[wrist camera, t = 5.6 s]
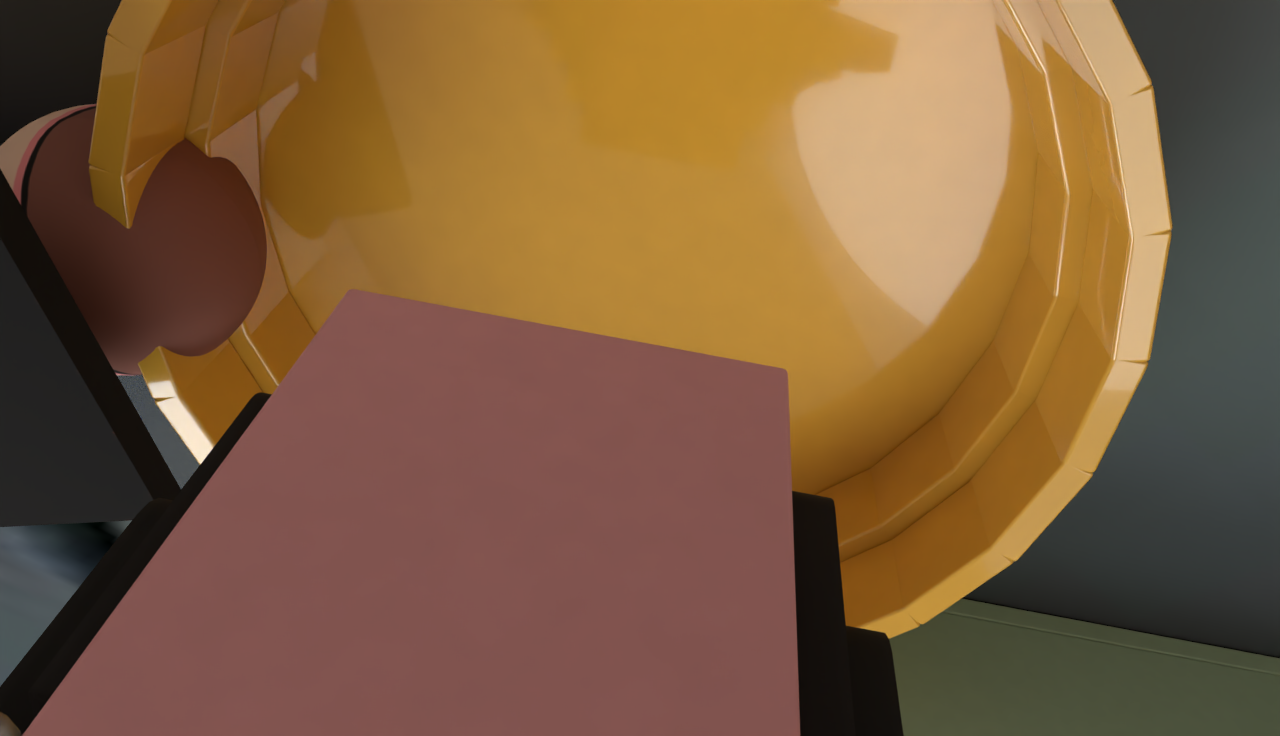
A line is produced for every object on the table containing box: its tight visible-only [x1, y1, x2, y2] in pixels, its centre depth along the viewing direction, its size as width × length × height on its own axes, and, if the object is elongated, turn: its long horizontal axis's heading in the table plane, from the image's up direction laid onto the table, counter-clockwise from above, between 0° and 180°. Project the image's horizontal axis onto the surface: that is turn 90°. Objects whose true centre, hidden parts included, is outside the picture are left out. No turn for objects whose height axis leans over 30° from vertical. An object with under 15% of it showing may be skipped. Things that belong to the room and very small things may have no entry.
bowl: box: [88, 0, 1173, 639], centre depth 18 cm, size 17×17×4 cm
